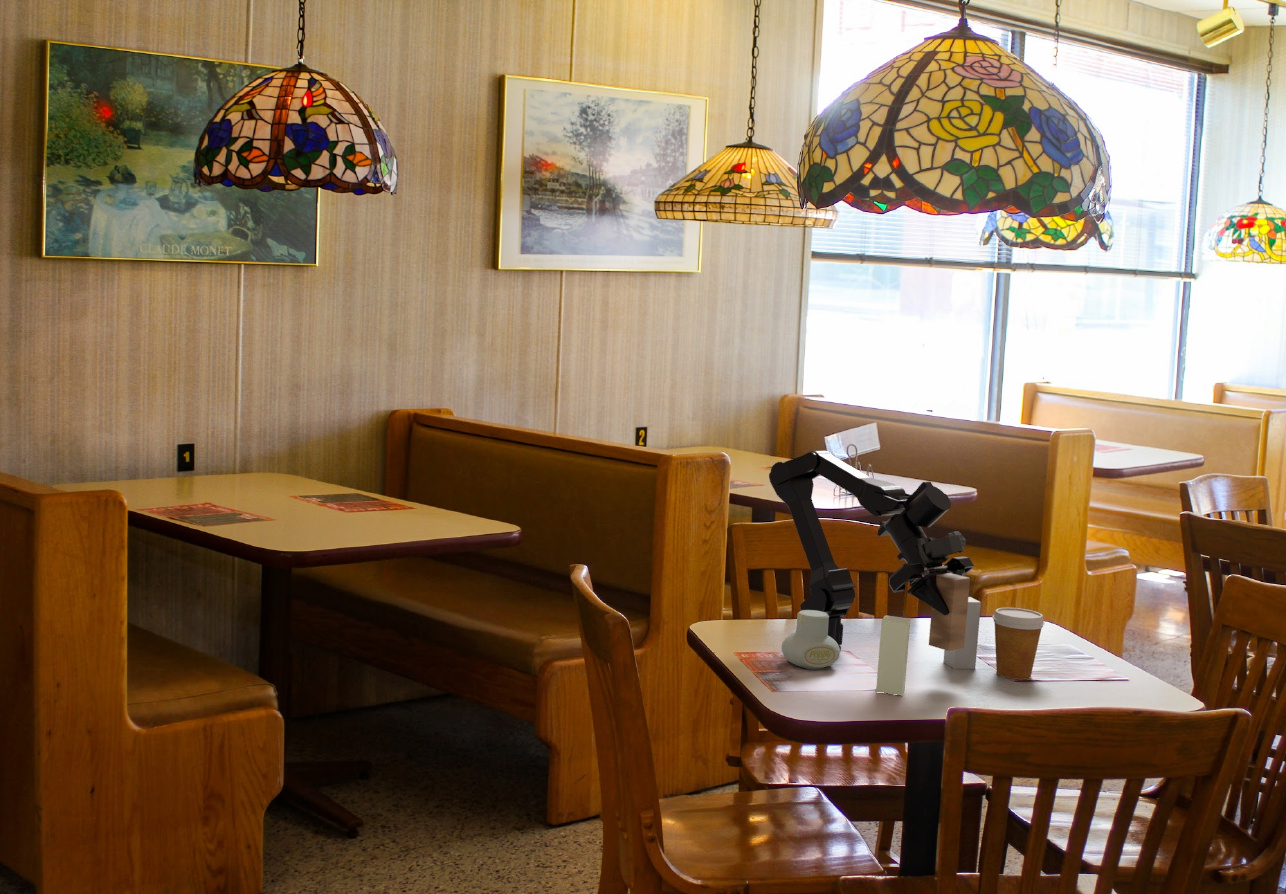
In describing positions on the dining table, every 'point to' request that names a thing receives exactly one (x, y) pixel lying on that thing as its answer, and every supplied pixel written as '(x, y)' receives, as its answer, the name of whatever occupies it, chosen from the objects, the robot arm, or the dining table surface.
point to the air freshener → (811, 642)
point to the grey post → (966, 640)
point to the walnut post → (950, 613)
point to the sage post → (893, 655)
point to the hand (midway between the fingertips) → (955, 612)
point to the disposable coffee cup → (1016, 641)
